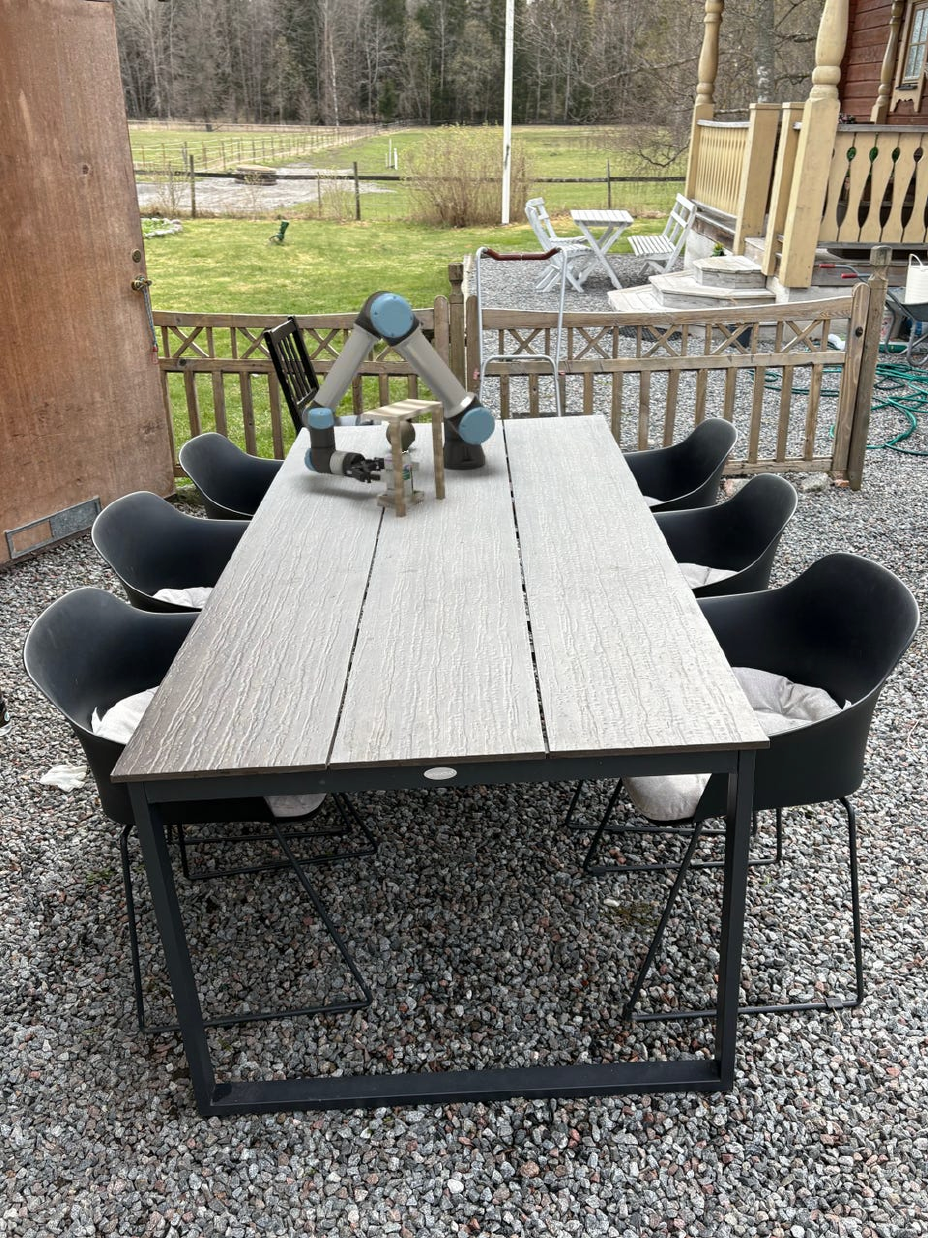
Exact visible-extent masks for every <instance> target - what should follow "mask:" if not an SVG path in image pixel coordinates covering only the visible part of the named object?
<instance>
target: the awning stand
mask: <svg viewBox="0 0 928 1238" xmlns="http://www.w3.org/2000/svg"><path fill="white" fill-rule="evenodd" d="M442 409H443V407H442V402H439V401H433V400H423V399H413V398H407V399H404V400H400V401H397V402H394V403H392V404H391V403H390V404H388V405H385V406H382V407H381V406H380V407H378V408H377V407H376V408H375V409H373V410H372V409H370V410H368V411H364V412H361V414H362V419H364V420H372V421H381V422H388V423H389V422H390V423H389V424H390V434H391V444H390V447H391V452H392V454H391V455H392V462H393V476H394V490H395V498H394V497H388V496H387V491H385V492H383V493H380V494H377V495H376V506H377V505H378V506H377V507H382V506H383V507H384V508H387V507H388V508H389V509H394V508H395V509H394V510H395V513H396V514H395V516H396V518H397V517H399V518H404V517H406V516H407V510H408V508H409V509H410V507H411V508H413V507H415V506H417V504H418V505H420V504H422V503H425V502H426V501H425V500H426V498H425V491H424V490H418V489H417V490H416V489H414V494H413V495H411V496H409V497H406V498H405V489H404V474H403V459H402V444H401V429H400V421H406V420H407V419H411V418H415V417H417V416H421V415H424V414H426V413H431V432H432V433H431V434H432V450H433V467H434V470H433V471H434V485H435V487H434V488H435V499H436V500H441V501H442V500H444V499H446V485H445V484H446V483H445V468H444V462H443V446H444V442H443V427H442V423H443V421H442ZM421 502H422V503H421ZM419 503H420V504H419ZM414 505H415V506H414ZM412 506H413V507H412Z"/></svg>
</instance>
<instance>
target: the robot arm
mask: <svg viewBox="0 0 928 1238" xmlns="http://www.w3.org/2000/svg"><path fill="white" fill-rule="evenodd" d="M421 324H422V323H421V321H420V320H419V319H418V317H417V315H415V313H414V312H413V309H412V307H411V304H410V303H409V302H408V301H407V300H406V299H405V298H404V297H402V296H401V295H399V294H396V293H392V292H390V291H388V290H379V291H375V292H373V293H372V294H370V295H369V296H368V297H367V298H366V300H365V302H364V303H363V305H362V307H361V308H360V311H359V312H358V315H357V316H356V318H355V320H354V322H353V324H352V325H353V330H352V332H351V334H350V336H349V337H348V339H347V341H346V343H345V344H344V345H343V348H342V349H341V350H340V353H339V355H338V357H337V358H336V359H335V362H334V363H333V365H332V366H331V369H330V370H329V372H328V374H327V375H326V377H325V378H324V380H323V382H322V384H321V385H320V387H319V389H318V391H317V393H316V394H315V396H314V398H313V399H312V402H311V403H310V405H308V406H307V407H306V408H304V410H303V412H302V413H301V415H302V416H301V420H302V423H303V426H304V428H305V429H307V431H308V434H309V439H310V447H309V448H308V449H307V450H306V451H305V453H304V455H305V456H304V459H303V461H304V465H305V466H306V468H307V469H308V470H309V471H311V472H315V473H319V474H325V475H326V474H327V475H333V476H340V477H341V478H343V479H344V478H345V477H346V478H352V479H355V480H357V481H359V482H361V483H365V482H366V483H367V484H369V485H370V484H372V482H378V483H385V484H386V483H389V484H390V483H391V474H389V473H385V472H382V470H385V464H384V457H377V456H375V457H373V459H372V458H367V459H366V458H365V456H364V455H363V454H362V453H360V452H355V451H354V452H353V451H347V450H339V449H337V446H336V437H335V435H336V434H335V419H334V414H335V412H336V410H337V409H338V406H339V405H340V404H341V401H342V400H343V398H344V397H345V395H346V393H347V392H348V390H349V387H350V386H351V385H352V383H353V381H354V379H355V378H356V376H357V374H358V373H359V371H360V369H361V367H363V364H364V363H365V361H366V359H367V358H368V356H369V354H370V353H371V351H372V349H373V348H374V346H375V344H376V343H377V342H380V341H381V340H382V339H383V340H384V341H385V342H386V344H387V346H389V348H390V349H397V350H398V351H399V352H400V354H401V355H402V356H403V358H404V359H405V360H406V362H407V363H408V364H409V365H410V366H411V368H412V369H413V370H414V372H415V373H416V374H417V375H418V377H419V378H420V380H421V381H422V382H423V383H424V384H425V386H426V387H427V388H428V390H429V391H430V392H431V394H432V395H433V396H434V397H435V399H436V400H437V402H442V416H443V417H442V418H443V419H442V420H443V421H442V423H443V436H444V438H443V439H444V440H443V441H444V442H443V462H444V469H448V470H449V469H450V470H471V469H477V468H480V467H483V466H484V465H486V462H487V459H486V455H485V452H484V449H483V446H482V444H484V443H486V441H488V440H489V439H490V438H491V437H492V436H493V434H494V432H495V427H496V421H495V418H494V415H493V414H492V412H491V411H490V410H488V408H485V406H484V405H483V404H482V402H481V401H480V399H479V395H478V394H477V393H474V392H473V391H466V390H465V388H464V387H463V385H462V384H461V382H459V380H458V379H457V377H456V376H455V375H454V373H453V372H452V371H451V369H450V368H449V367H448V366H447V364H446V363H445V361H444V360H443V359H442V357H440V355H439V354H438V352H437V351H436V350H435V348H434V346H432V344H431V343H430V342H429V340H428V339H427V338H426V336H425V335H424V334H423V332H422V331H421ZM411 463H412V472H416V473H419V472H421V468H420V467H421V465H420V462H418V461H412V460H411Z"/></svg>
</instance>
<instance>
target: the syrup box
mask: <svg viewBox="0 0 928 1238" xmlns="http://www.w3.org/2000/svg"><path fill="white" fill-rule="evenodd" d="M383 458H384V464H385V469H384V473H389V474H391V483H390V484H389V483H385V485H386V492H387V496H388V497H394V498H395V490H394V476H393V462H392V454H391V455H388V456H384V457H383ZM402 459H403V474H404V489H405V498H406V497H409V496H411V495H413V494H414V490H415V489H414V480H413V477H414V476H413V471H412V463H411V461H412V455H411V454H410V453H402Z"/></svg>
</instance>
